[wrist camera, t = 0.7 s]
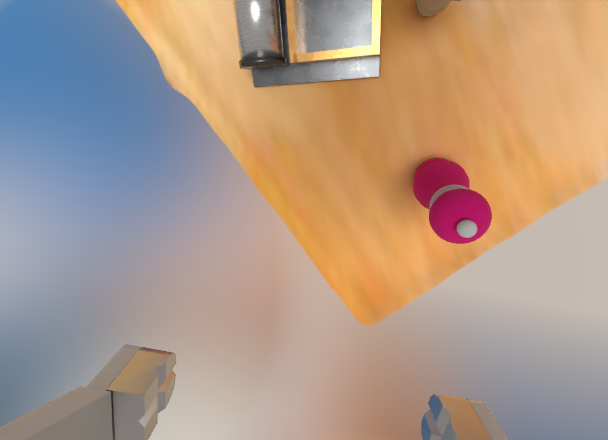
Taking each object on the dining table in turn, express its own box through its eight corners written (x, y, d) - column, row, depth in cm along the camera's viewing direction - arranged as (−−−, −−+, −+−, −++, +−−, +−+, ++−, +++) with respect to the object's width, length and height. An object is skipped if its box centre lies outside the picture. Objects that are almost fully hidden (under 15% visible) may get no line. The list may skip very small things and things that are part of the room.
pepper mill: (417, 151, 45) (441, 190, 27) (467, 158, 44) (526, 204, 26) (405, 195, 48) (420, 256, 30) (452, 203, 47) (495, 272, 29)
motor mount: (237, -58, 40) (209, -86, 34) (383, -89, 35) (384, -130, 29) (254, 87, 47) (234, 86, 41) (379, 76, 42) (378, 74, 36)
